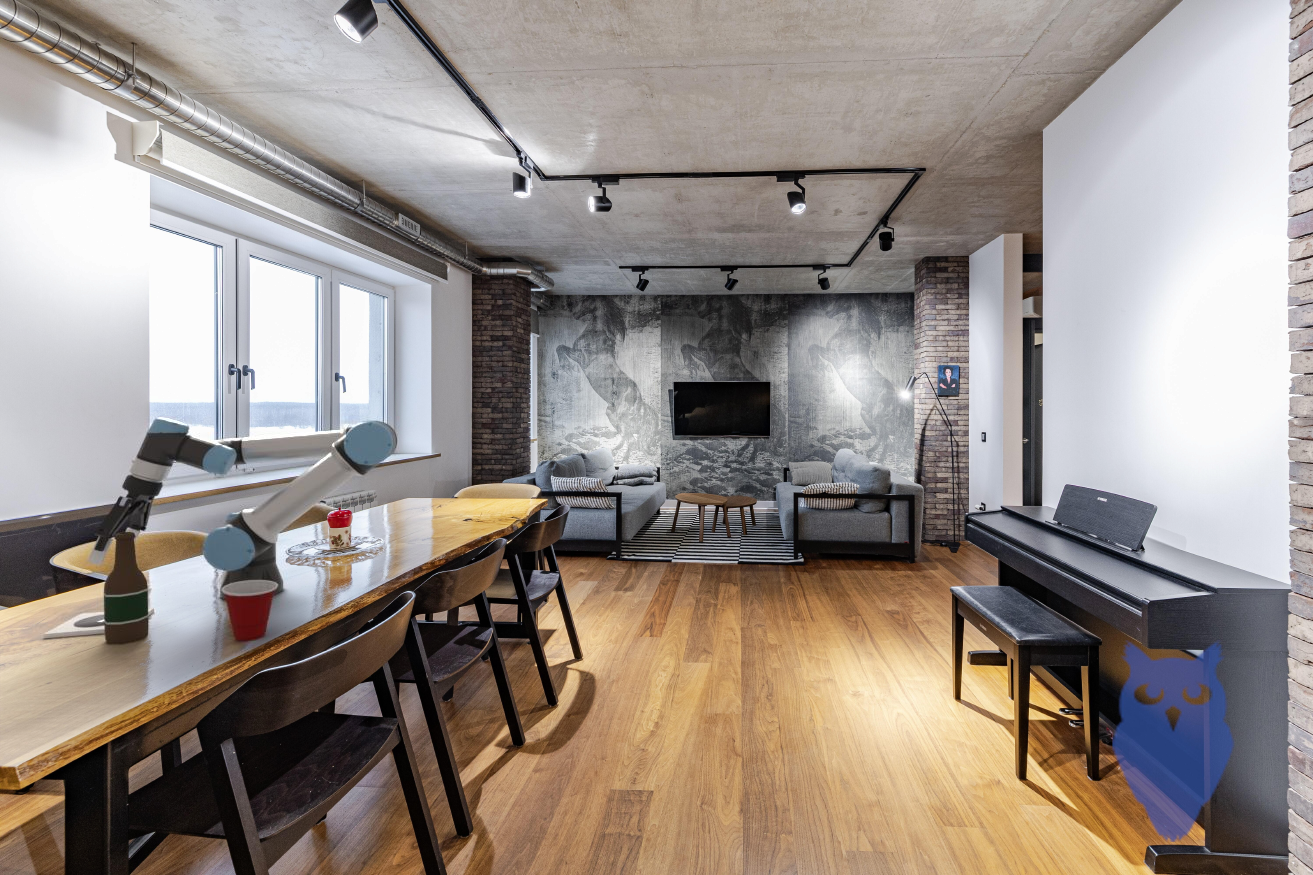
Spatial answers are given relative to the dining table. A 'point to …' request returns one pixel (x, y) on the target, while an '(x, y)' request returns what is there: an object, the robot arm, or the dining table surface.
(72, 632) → the tile
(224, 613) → the dining table surface
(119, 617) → the beer bottle
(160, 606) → the dining table surface
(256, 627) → the plastic cup
